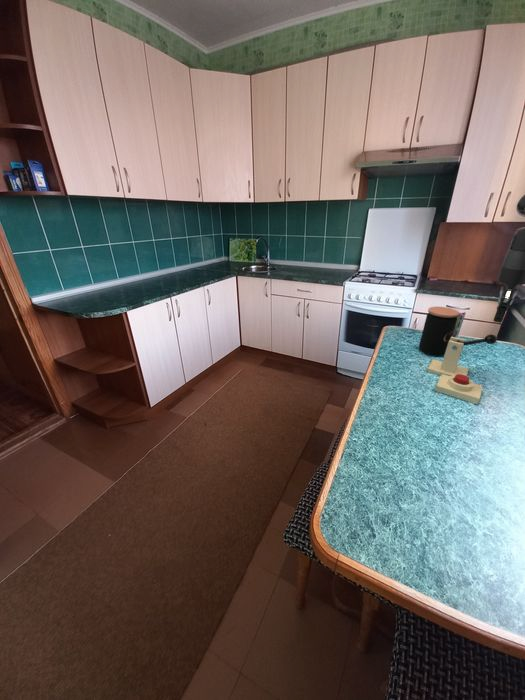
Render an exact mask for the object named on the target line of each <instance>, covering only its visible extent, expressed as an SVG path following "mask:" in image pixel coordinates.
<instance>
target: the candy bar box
mask: <svg viewBox="0 0 525 700" xmlns="http://www.w3.org/2000/svg"><path fill="white" fill-rule="evenodd" d="M436 307H440V306H438V305H437V306H436ZM455 310H456V311H458V312H459V315H458V316H457V322H456V326H455V329H454V332H453V335H452V337H455V338H459V335H460V331H461V329H462V326H463V323H464V320H465V317H466V311H463V310H459V309H455Z"/></svg>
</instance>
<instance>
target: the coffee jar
mask: <svg viewBox="0 0 525 700" xmlns="http://www.w3.org/2000/svg"><path fill="white" fill-rule="evenodd" d="M456 310H457V309H454V308H451V307H447V306H446V307H445V306H439V307H437V306H431V307H428V309H427V312H428V313H427V314H426V316H425V321H424V324H423V329H422V332H421V337H420V341H419V344H418V347H419V351H420V352H421V353H423V354H425V355H427V356H430V357H431V356H432V357H444V356H445V352H446V349H447V346H448V342H449V340H450V339H451V337H452V335H453V332H454V329H455V326H456V322H457V316H458V315H459V312H458V311H459V310H458V311H456Z"/></svg>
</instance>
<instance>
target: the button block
mask: <svg viewBox="0 0 525 700" xmlns="http://www.w3.org/2000/svg"><path fill="white" fill-rule="evenodd" d="M454 378H455V375H453V376H447V375H443V374H442V375H440V377H439V379H438V381H437V383H436V385H435V388H434V391H435V392H437V393H441V394H442V395H443V394H444V395H447V396H450V397H453V398H456V399H459V400H463V401H466V402H468V403H472V404H475V405H479V402H480V400H481V396H482V391H483V387H484V386H483V384H482V385H481V384H478V383H474V381H473V380H472V379H470V380H469V383H468V385H461V384H458V383H456V382H454Z"/></svg>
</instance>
